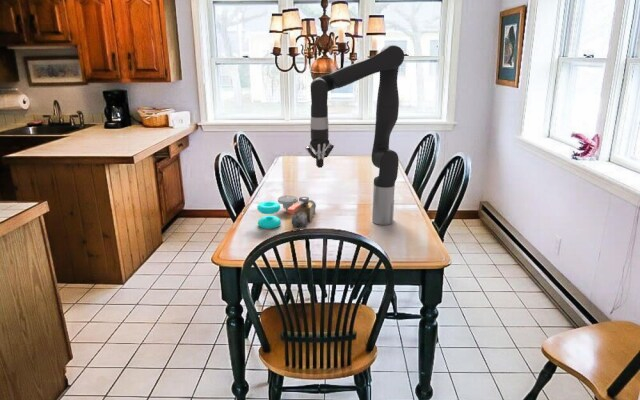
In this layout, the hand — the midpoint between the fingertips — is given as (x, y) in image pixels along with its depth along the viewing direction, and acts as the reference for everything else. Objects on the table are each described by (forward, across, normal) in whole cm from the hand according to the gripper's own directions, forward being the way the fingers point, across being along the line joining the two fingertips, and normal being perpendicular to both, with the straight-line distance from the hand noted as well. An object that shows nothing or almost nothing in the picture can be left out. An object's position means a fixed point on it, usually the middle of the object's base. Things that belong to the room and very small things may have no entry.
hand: (319, 167), depth 203 cm
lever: (+17, -10, +1) cm, 20 cm away
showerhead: (+25, -8, +19) cm, 33 cm away
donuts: (+25, -22, +5) cm, 34 cm away
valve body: (+25, -6, +6) cm, 26 cm away
